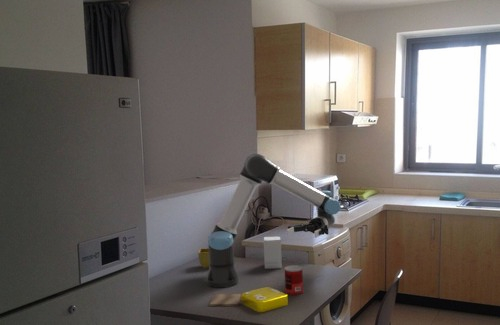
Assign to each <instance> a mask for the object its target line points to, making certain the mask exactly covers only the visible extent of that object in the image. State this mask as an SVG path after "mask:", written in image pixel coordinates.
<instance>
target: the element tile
mask: <svg viewBox="0 0 500 325" xmlns="http://www.w3.org/2000/svg"><path fill="white" fill-rule="evenodd" d="M240 294H241V298H240V301H241V302H240V304H242V305H244V306H245V307H246V308H249V309H251V310H253V311H255V312H257V313H265V312H268V311H272V310H275V309H279V308H282V307H286V306H288V305H289V298H288V297H289V294H287V293H286V292H285V293H284V292H283V291H280V290H278V289H275V288H273V287H270V286H265V287H260V288H257V289H253V290H252V289H251V290H249V291H245V292H242V293H240Z"/></svg>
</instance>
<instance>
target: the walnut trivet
mask: <svg viewBox="0 0 500 325" xmlns="http://www.w3.org/2000/svg"><path fill="white" fill-rule="evenodd" d="M241 294H242V293H231V294H230V293H219V294H217V293H216V294H215V293H214V294H213V295H212V296H211V297H212V298H211V299H210V301H209V304H208V306H209V307H222V306H224V307H225V306H227V307H229V306H230V307H236V306H237V307H239V304H240V301H241Z"/></svg>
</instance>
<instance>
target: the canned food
mask: <svg viewBox="0 0 500 325" xmlns="http://www.w3.org/2000/svg"><path fill="white" fill-rule="evenodd" d="M303 277H304V275H303V266H301V265H297V264H296V265H295V264H294V265H293V264H292V265H287V266H285V267H284V284H285V286H284V289H285V294H287V295H288V296H297V295H301V294H303V292H304V279H303Z"/></svg>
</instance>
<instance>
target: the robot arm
mask: <svg viewBox="0 0 500 325" xmlns="http://www.w3.org/2000/svg"><path fill="white" fill-rule="evenodd" d="M239 177H240V180H239V183H238V185H237V186H236V188H235V190H234V193H233V194H232V197H231V199H230V202H229V203H228V206H227V208H226V210H225V212H224V214H223V216H222V218H221V220H220V221H219V222H217V223H216V224H215V226H214V228H213V230H212V231H211V232H210V233H209V235H208V237H207V238H208V239H207V244H208V248H209V266H210V267H209V268H208V271H207V272H208V273H207V275H206V285H207V286H209V287H212V288H213V287H214V288H228V287H231V286H232V287H233V286H235V285H237V284H238V283H239V275H238V273H237V270H236V267H235V262H234V261H235V260H234V255H235V254H234V242H235V240H236V237H237V235H238V231H237V228H238V226H239V224H240V221H241V219H242V218H243V216H244V214H245V212H246V209H247V207H248V204H249V202H250V200H251V199H252V196H253V194H254V192H255V191H256V188H257V187H258V186H261V184H262V182H265V183H266V184H268V185H271V184H273V185H274V186H277V187H278V188H280V189H282V190H283V191H285V192H287V193H290V194H291V195H293V196H295V197H297V198H299V199H300V200H302V201H305V202H307V203H308V204H310V205H312V206H313V207H316V209H317V210H316V212H317V213H316V214H317V216H316V217H314V218H311V219H310V220H309V222H308V223H305V224H304V223H299V224H294V225H289V226H287V229H286V236H287V237H289V236H290V235H293V234H295V233H298V232H305V233H307V232H310V233H312V234H314V235H313V236H314V238H316V239H317V238H318V237H320V236H322V235H323V236H324V235H329V233H330V232H329V229H331V227H333V226H334V224H335V223H336V218H335V216H334V215H336V214H338V213H339V212H340V209H341V203H340V202H339V201H338V200H337V199H336V198H333V196H332V191H330V190H318V189H317V188H315V187H313V186H311V185H309V184H307V183H305V181H302V180H301V179H298V178H297V177H295V176H292V175H291V174H289V173H287V172H285V171H283V170H282V169H280V166H279V165H277V164H275V163H274V162H272V161H271V160H269V159H268V157H266V156H264V155H262V154H259V153H253V154H250V155H249V156H248V157H246V159H245V160H244V164H243V167H242V169H241V171H240V173H239Z"/></svg>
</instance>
